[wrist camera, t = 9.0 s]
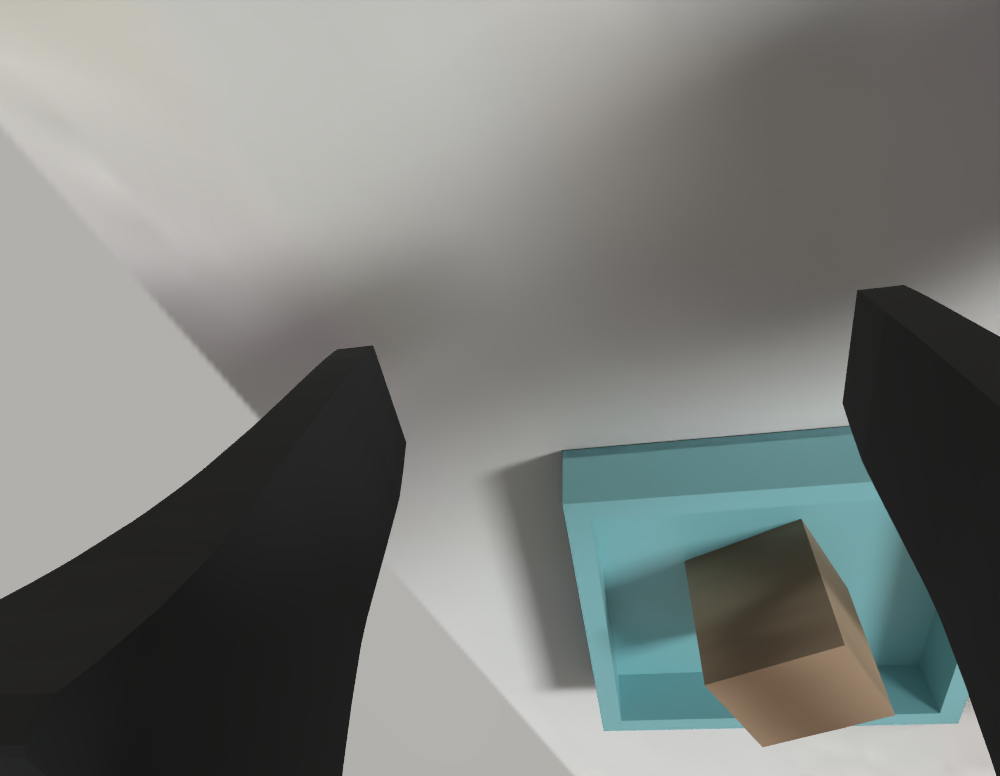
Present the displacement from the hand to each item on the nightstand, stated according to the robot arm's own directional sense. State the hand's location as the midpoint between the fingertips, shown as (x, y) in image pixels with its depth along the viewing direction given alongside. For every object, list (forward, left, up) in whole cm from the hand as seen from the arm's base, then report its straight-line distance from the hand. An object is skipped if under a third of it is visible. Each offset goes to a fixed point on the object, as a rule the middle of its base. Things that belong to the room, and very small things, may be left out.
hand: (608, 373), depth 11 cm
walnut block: (-5, +17, -9) cm, 20 cm away
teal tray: (-5, +17, -9) cm, 20 cm away
